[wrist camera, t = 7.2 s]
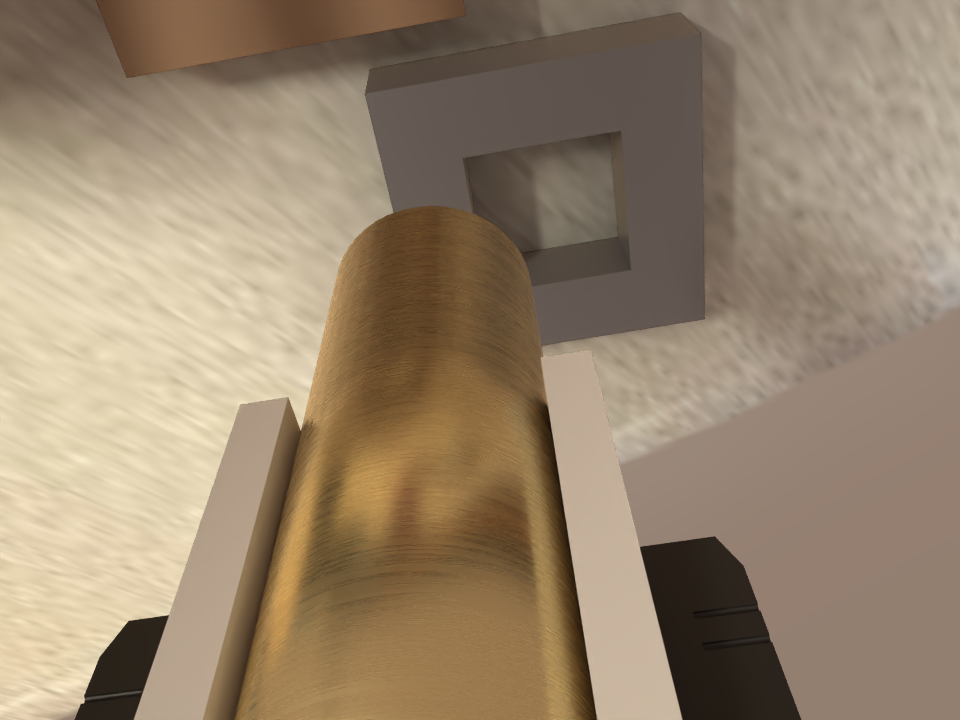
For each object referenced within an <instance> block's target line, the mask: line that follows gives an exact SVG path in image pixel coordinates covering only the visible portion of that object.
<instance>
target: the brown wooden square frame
mask: <svg viewBox="0 0 960 720" xmlns="http://www.w3.org/2000/svg"><path fill="white" fill-rule="evenodd" d="M96 2H97V4H98V7H99V9H100V12H101V14H102V17H103V19H104V22H105V24H106V27H107V29H108V32H109V34H110V37H111V39H112V42H113V44H114V47H115V49H116V52H117V54H118V57H119V59H120V62H121V64H122V67H123V69H124V72H125V74H126V77H127V78H130V77H136V76H141V75H146V74H152V73H157V72H163V71H168V70H174V69H179V68H184V67H190V66H195V65H201V64H206V63H212V62H217V61H222V60H228V59H233V58H239V57H244V56H250V55H255V54H260V53H266V52H271V51H277V50H282V49H288V48H293V47H298V46H304V45H309V44H315V43H320V42H326V41H331V40H336V39H342V38H347V37H353V36H358V35H364V34H369V33H374V32H380V31H385V30H391V29H396V28H402V27H407V26H412V25H418V24H423V23H429V22H434V21H440V20H445V19H450V18H456V17H461V16H466V15H465V8H464V0H96Z"/></svg>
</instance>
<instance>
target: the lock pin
mask: <svg viewBox="0 0 960 720" xmlns="http://www.w3.org/2000/svg"><path fill="white" fill-rule="evenodd" d="M541 357H543V353H542V347H541V341H540V335H539V329H538V322H537V316H536V310H535V304H534V298H533V292H532V285H531V280H530V275H529V271H528V268H527V266H526V263H525V261H524V258H523V257H522V255H521V253H520V251H519V250H518V248H517V247H516V246H515V244H514V243H513V242H512V241H511V239H510V238H509V237H508V236H507V235H506V234H505V233H504V232H503V231H502V230H500V229H499V228H497V227H496V226H495V225H493V224H492V223H491V222H489V221H487V220H485V219H483V218H482V217H480V216H477V215H475V214H472V213H470V212H467V211H464V210H460V209H456V208H450V207H443V206H422V207H413V208H409V209H405V210H401V211H398V212H395V213H392V214H390V215H387V216H385V217H384V218H382V219H380V220H378V221H376V222H375V223H373V224H372V225H370V226H369V227H368V228H366V229H365V230H364V231H363V232H362V233H361V234H360V235H359V236H358V237H357V238H356V239H355V240H354V241H353V243H352V244H351V245H350V247H349V248H348V250H347V252H346V253H345V255H344V257H343V259H342V262H341V264H340V267H339V270H338V274H337V279H336V283H335V287H334V292H333V296H332V300H331V305H330V309H329V313H328V318H327V322H326V326H325V330H324V335H323V339H322V343H321V348H320V352H319V356H318V361H317V365H316V369H315V374H314V378H313V382H312V387H311V391H310V395H309V399H308V404H307V408H306V412H305V417H304V421H303V425H302V430H301V434H300V438H299V443H298V447H297V451H296V456H295V460H294V464H293V468H292V473H291V477H290V481H289V486H288V490H287V494H286V499H285V503H284V507H283V512H282V516H281V520H280V525H279V529H278V533H277V537H276V542H275V546H274V550H273V555H272V559H271V563H270V568H269V572H268V576H267V581H266V585H265V589H264V593H263V598H262V602H261V606H260V611H259V615H258V619H257V624H256V628H255V632H254V637H253V641H252V645H251V650H250V654H249V658H248V662H247V667H246V671H245V675H244V680H243V684H242V688H241V693H240V697H239V701H238V706H237V710H236V714H235V719H234V720H597V715H596V709H595V702H594V696H593V690H592V683H591V677H590V670H589V664H588V658H587V651H586V645H585V638H584V632H583V626H582V619H581V613H580V607H579V600H578V594H577V587H576V581H575V575H574V568H573V562H572V555H571V549H570V543H569V536H568V530H567V523H566V517H565V511H564V504H563V498H562V492H561V485H560V479H559V472H558V466H557V460H556V453H555V447H554V440H553V434H552V428H551V421H550V415H549V408H548V402H547V396H546V389H545V383H544V377H543V370H542V364H541Z"/></svg>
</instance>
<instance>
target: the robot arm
mask: <svg viewBox="0 0 960 720" xmlns="http://www.w3.org/2000/svg"><path fill="white" fill-rule="evenodd" d="M541 364H542V370H543V377H544V383H545V389H546V396H547V402H548V408H549V415H550V421H551V428H552V434H553V440H554V447H555V453H556V460H557V466H558V472H559V479H560V485H561V492H562V498H563V504H564V511H565V517H566V523H567V530H568V536H569V543H570V549H571V555H572V562H573V568H574V575H575V581H576V587H577V594H578V600H579V607H580V613H581V619H582V626H583V632H584V638H585V645H586V651H587V658H588V664H589V670H590V677H591V683H592V690H593V696H594V702H595V709H596V715H597V720H801V718H800V715H799V712H798V710H797V707H796V704H795V702H794V699H793V696H792V694H791V691H790V689H789V686H788V683H787V680H786V678H785V675H784V672H783V670H782V667H781V664H780V662H779V659H778V656H777V654H776V651H775V648H774V646H773V643H772V642H771V641H770V637H769V632H768V630H767V627H766V624H765V622H764V619H763V616H762V614H761V611H759V609H758V603H757V600H756V598H755V595H754V593H753V590H752V587H751V584H750V582H749V579H748V576H747V574H746V571H745V568H744V566H743V565H742V564H741V563H740V562H739V561H738V560H737V559H736V558H735V557H734V556H733V555H732V554H731V553H730V552H729V551H728V550H727V549H726V548H725V547H724V545H723V544H722V543H721V542H720V541H719V540H718V539H717V538H716V537H707V538H701V539H693V540H687V541H679V542H672V543H664V544H658V545H650V546H643V547H639V543H638V539H637V535H636V531H635V526H634V522H633V519H632V514H631V510H630V506H629V502H628V499H627V494H626V490H625V486H624V482H623V478H622V474H621V470H620V466H619V462H618V458H617V454H616V450H615V446H614V442H613V438H612V434H611V430H610V425H609V421H608V417H607V413H606V409H605V405H604V401H603V397H602V393H601V389H600V385H599V381H598V377H597V373H596V369H595V365H594V361H593V357H592V353H591V350H585V351H578V352H572V353H566V354H559V355H553V356H547V357H541ZM300 434H301V431H300V428H299V425H298V423H297V420H296V417H295V414H294V412H293V409H292V406H291V404H290V401H289V398H288V397H286V398H280V399H273V400H267V401H261V402H254V403H248V404H242V405H240V407H239V410H238V413H237V416H236V419H235V422H234V425H233V428H232V431H231V434H230V437H229V440H228V443H227V446H226V449H225V452H224V455H223V458H222V461H221V464H220V466H219V469H218V472H217V475H216V478H215V481H214V484H213V487H212V490H211V493H210V496H209V499H208V502H207V505H206V508H205V511H204V514H203V517H202V520H201V523H200V526H199V529H198V531H197V534H196V537H195V540H194V543H193V546H192V549H191V552H190V555H189V558H188V561H187V564H186V567H185V570H184V573H183V576H182V579H181V582H180V585H179V588H178V591H177V594H176V596H175V599H174V602H173V605H172V608H171V611H170V614H169V615H168V616H161V617H154V618H147V619H139V620H132V621H128V623H127V624H126V625H125V626H124V628H123V629H122V630H121V631H120V633H119V634H118V635H117V636H116V638H115V639H114V640H113V641H112V642H111V644H110V645H109V646H108V647H107V649H106V650H105V651H104V652H103V654H102V655H101V656H100V658H99V660H98V663H97V665H96V668H95V670H94V673H93V675H92V678H91V680H90V683H89V685H88V688H87V690H86V693H85V695H84V697H85V702H84V704H81V705H80V708H79V710H78V713H77V715H76V718H75V720H234V719H235V714H236V710H237V706H238V701H239V697H240V693H241V688H242V684H243V680H244V675H245V671H246V667H247V662H248V658H249V654H250V650H251V645H252V641H253V637H254V632H255V628H256V624H257V619H258V615H259V611H260V606H261V602H262V598H263V593H264V589H265V585H266V581H267V576H268V572H269V568H270V563H271V559H272V555H273V550H274V546H275V542H276V537H277V533H278V529H279V525H280V520H281V516H282V512H283V507H284V503H285V499H286V494H287V490H288V486H289V481H290V477H291V473H292V468H293V464H294V460H295V456H296V451H297V447H298V443H299V438H300Z"/></svg>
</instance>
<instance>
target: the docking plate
mask: <svg viewBox="0 0 960 720" xmlns="http://www.w3.org/2000/svg"><path fill="white" fill-rule="evenodd" d="M365 96H366V100H367V104H368V109H369V113H370V117H371V121H372V125H373V129H374V133H375V137H376V142H377V146H378V150H379V154H380V158H381V162H382V166H383V170H384V174H385V179H386V183H387V187H388V191H389V195H390V199H391V203H392V207H393V212H394V213H395V212H398V211H401V210H405V209H409V208H413V207H422V206H443V207H450V208H456V209H460V210H464V211H467V212H470V213H472V214H475V210H474V204H473V199H472V193H471V188H470V182H469V177H468V171H467V166H466V160H465V158H467V157H473V156H479V155H484V154H490V153H496V152H502V151H507V150H513V149H519V148H524V147H530V146H536V145H542V144H547V143H553V142H559V141H565V140H570V139H576V138H582V137H587V136H593V135H599V134H605V133H610V141H611V154H612V167H613V179H614V192H615V205H616V218H617V230H618V237H616V238H610V239H604V240H598V241H592V242H586V243H581V244H575V245H569V246H563V247H557V248H551V249H545V250H539V251H533V252H527V253H521V255H522V257H523V258H524V261H525V263H526V266H527V268H528V271H529V275H530V280H531V285H532V292H533V298H534V304H535V310H536V316H537V322H538V329H539V335H540V341H541V346H542V345H548V344H554V343H561V342H567V341H573V340H579V339H585V338H591V337H598V336H604V335H610V334H616V333H622V332H629V331H635V330H641V329H647V328H653V327H659V326H666V325H672V324H678V323H684V322H690V321H697V320H703V319H705V294H704V223H703V153H702V82H701V33H700V32H699V31H698V30H697V29H696V28H695V27H694V26H693V25H692V24H691V23H690V22H689V21H688V20H687V19H686V18H685V17H684V16H683V15H682V14H681V13H677V14H672V15H666V16H661V17H655V18H650V19H644V20H639V21H633V22H628V23H622V24H617V25H611V26H606V27H600V28H595V29H589V30H584V31H578V32H573V33H567V34H562V35H556V36H551V37H545V38H540V39H534V40H529V41H523V42H518V43H512V44H507V45H501V46H496V47H490V48H485V49H479V50H474V51H468V52H463V53H457V54H452V55H446V56H441V57H435V58H430V59H424V60H419V61H413V62H408V63H402V64H397V65H391V66H386V67H380V68H375V69H370V71H369V76H368V81H367V86H366V91H365Z"/></svg>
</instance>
